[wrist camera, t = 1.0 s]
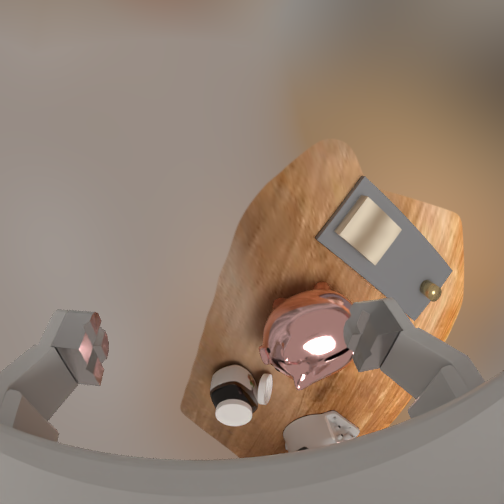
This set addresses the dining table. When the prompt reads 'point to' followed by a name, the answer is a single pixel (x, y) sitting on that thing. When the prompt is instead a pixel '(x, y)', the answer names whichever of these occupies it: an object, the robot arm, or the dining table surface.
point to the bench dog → (430, 290)
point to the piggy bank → (307, 335)
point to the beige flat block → (368, 229)
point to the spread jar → (238, 394)
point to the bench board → (389, 254)
